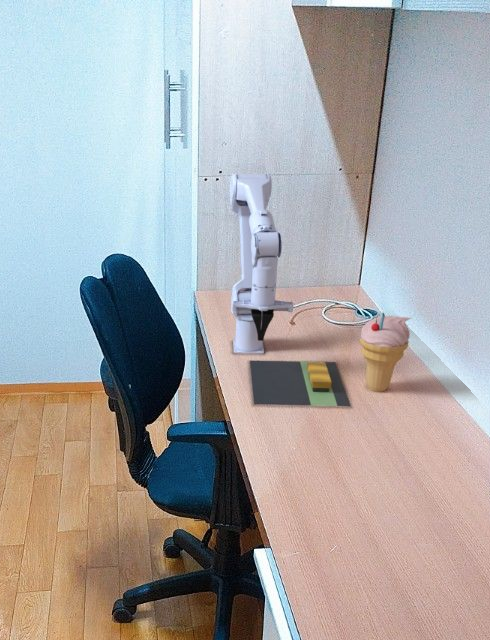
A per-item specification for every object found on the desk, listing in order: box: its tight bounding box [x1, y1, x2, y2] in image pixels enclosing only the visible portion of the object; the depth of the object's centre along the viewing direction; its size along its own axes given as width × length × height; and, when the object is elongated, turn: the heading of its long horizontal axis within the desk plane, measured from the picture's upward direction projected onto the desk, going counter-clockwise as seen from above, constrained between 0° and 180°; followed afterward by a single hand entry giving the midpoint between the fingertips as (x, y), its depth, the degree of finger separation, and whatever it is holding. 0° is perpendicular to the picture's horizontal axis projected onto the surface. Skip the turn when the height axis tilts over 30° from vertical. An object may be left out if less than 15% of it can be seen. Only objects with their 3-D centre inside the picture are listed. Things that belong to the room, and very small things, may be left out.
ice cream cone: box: [359, 312, 412, 393], centre depth 170 cm, size 11×11×20 cm
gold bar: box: [306, 361, 332, 392], centre depth 177 cm, size 12×4×3 cm, turn 178°
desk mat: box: [249, 360, 351, 407], centre depth 178 cm, size 26×22×1 cm
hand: (260, 339), depth 180 cm, fingers closed
